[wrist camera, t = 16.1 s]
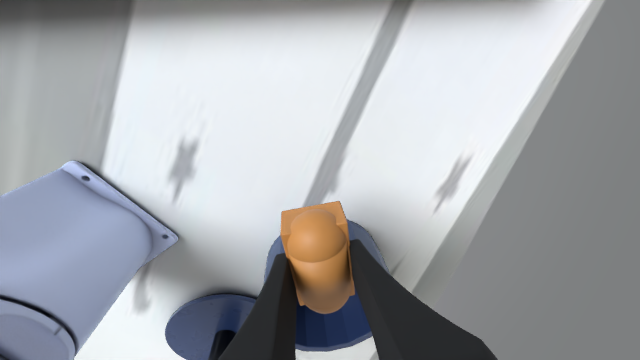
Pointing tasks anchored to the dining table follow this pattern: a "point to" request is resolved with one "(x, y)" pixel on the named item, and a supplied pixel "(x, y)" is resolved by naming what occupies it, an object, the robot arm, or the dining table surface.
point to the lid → (207, 325)
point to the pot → (339, 325)
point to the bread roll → (319, 255)
